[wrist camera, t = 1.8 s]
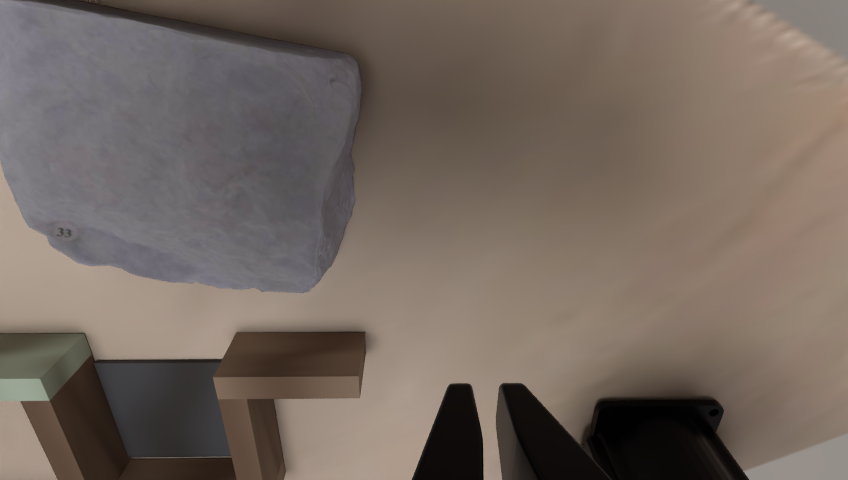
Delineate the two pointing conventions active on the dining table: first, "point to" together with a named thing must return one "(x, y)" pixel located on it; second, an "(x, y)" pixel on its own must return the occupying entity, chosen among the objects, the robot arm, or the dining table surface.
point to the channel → (172, 403)
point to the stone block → (176, 144)
